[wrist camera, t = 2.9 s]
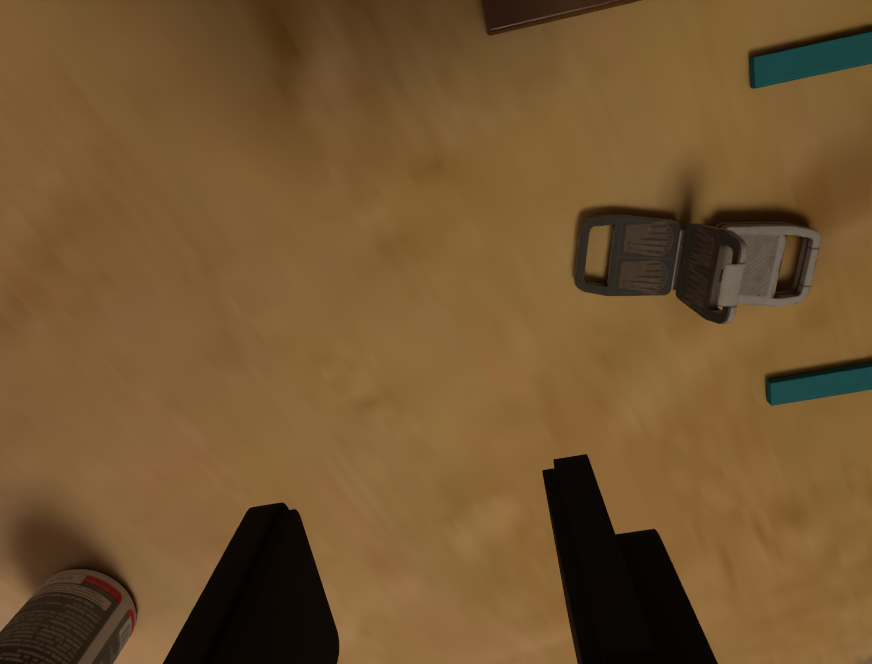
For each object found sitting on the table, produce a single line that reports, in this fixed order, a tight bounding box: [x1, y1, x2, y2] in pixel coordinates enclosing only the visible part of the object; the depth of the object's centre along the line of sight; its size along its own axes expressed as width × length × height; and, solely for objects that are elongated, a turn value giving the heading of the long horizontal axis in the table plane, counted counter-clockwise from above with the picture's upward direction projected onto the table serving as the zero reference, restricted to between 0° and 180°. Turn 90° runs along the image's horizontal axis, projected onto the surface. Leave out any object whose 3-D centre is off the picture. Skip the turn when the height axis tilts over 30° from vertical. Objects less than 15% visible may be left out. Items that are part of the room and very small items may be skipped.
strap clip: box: [574, 214, 821, 324], centre depth 22 cm, size 8×3×4 cm, turn 88°
